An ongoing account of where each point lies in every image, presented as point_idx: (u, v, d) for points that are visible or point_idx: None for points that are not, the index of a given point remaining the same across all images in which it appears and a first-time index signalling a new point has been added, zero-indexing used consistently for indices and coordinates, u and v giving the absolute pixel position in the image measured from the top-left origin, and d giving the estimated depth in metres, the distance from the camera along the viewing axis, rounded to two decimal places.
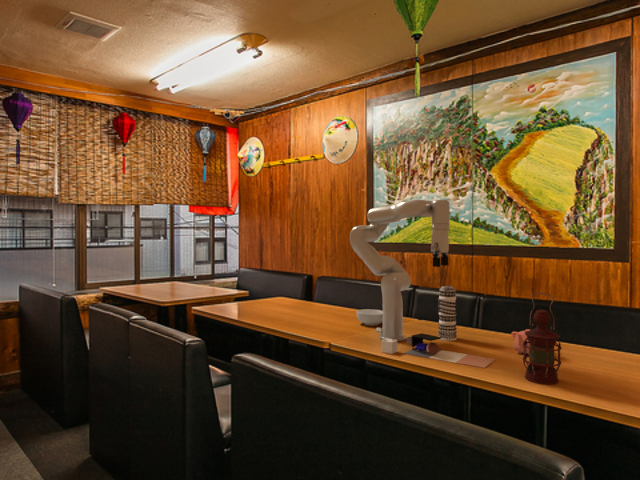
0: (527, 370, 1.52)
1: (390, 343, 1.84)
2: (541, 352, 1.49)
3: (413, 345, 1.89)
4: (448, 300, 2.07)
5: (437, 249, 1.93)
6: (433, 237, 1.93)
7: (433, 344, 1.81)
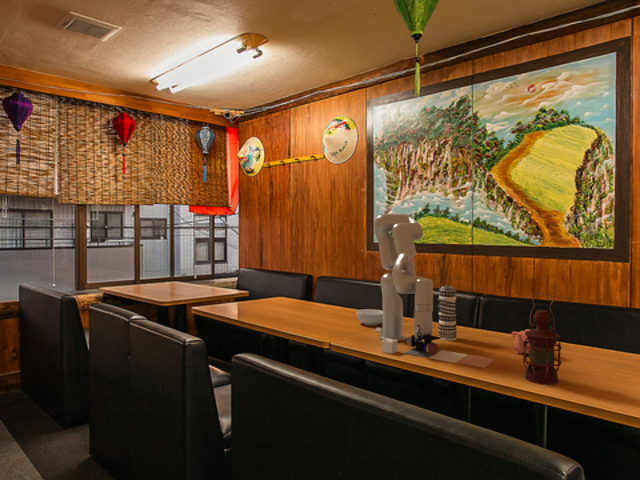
0: (527, 370, 1.52)
1: (390, 343, 1.84)
2: (541, 352, 1.49)
3: (413, 345, 1.89)
4: (448, 300, 2.07)
5: (420, 331, 1.84)
6: (415, 319, 1.83)
7: (433, 344, 1.81)
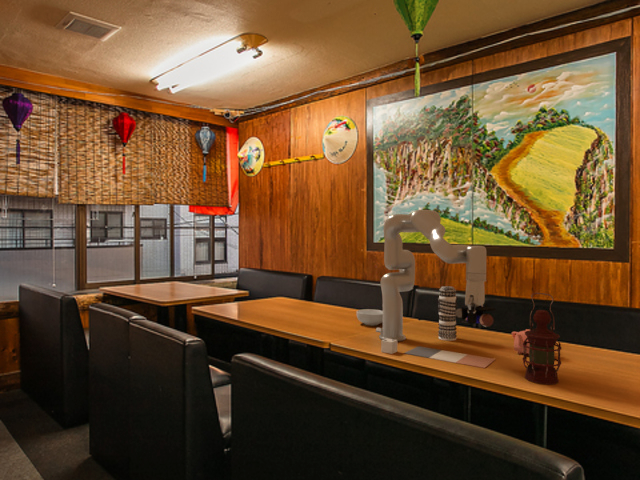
0: (527, 370, 1.52)
1: (390, 343, 1.84)
2: (541, 352, 1.49)
3: (463, 318, 1.75)
4: (448, 300, 2.07)
5: (472, 302, 1.71)
6: (468, 289, 1.70)
7: (487, 315, 1.68)
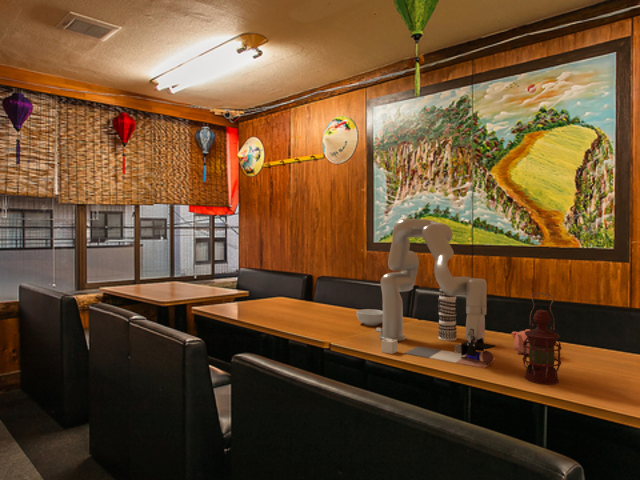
0: (527, 370, 1.52)
1: (390, 343, 1.84)
2: (541, 352, 1.49)
3: (463, 354, 1.75)
4: (448, 300, 2.07)
5: (472, 335, 1.71)
6: (468, 322, 1.70)
7: (487, 353, 1.68)
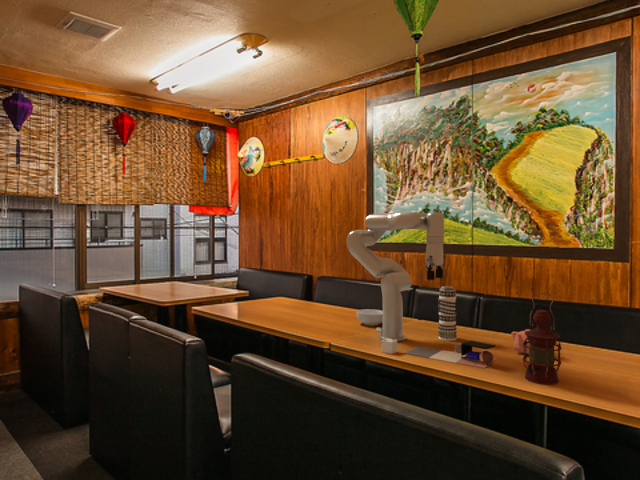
0: (527, 370, 1.52)
1: (390, 343, 1.84)
2: (541, 352, 1.49)
3: (463, 354, 1.75)
4: (448, 300, 2.07)
5: (431, 262, 1.93)
6: (427, 250, 1.93)
7: (487, 353, 1.68)
